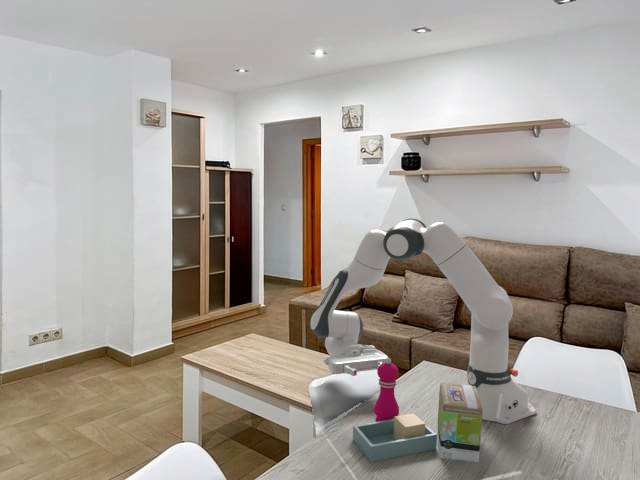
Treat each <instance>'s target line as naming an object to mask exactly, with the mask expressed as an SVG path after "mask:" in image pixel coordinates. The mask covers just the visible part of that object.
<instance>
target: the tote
mask: <svg viewBox="0 0 640 480" xmlns="http://www.w3.org/2000/svg"><path fill="white" fill-rule="evenodd" d="M352 428H353V429H352V440H353V442H354V443H355V444H356V446H357V447H358V448H359V449H360V451H361V452H362V453H363V454H364V456H365V457H366V458H367V459H368V460H369V462H370V463H372V462H377V461H382V460H387V459H392V458H397V457H398V458H399V457H402V456H408V455H412V454H417V453H418V454H419V453H422V452H428V451H432V450H437V445H438V444H437V443H438V433H436V432H435V431H433V430H432V429H431V428H430V427H429V426H428V425H426V424H425V435H422V436H417V437H411V438H406V439H401V440H395V439H394V438H393V436H394V419H391V420H385V421H379V422H375V421H374V422H369V423H368V422H367V423H364V424H363V423H362V424H357V425H356V424H355V425H352Z"/></svg>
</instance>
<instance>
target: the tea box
mask: <svg viewBox="0 0 640 480" xmlns="http://www.w3.org/2000/svg"><path fill="white" fill-rule="evenodd" d="M438 397H439V398H438V410H437V412H438V413H437V427H436V428H437V429H436V430H437V443H438V444H437V445H438V454H439V458H440V459H445V460H446V459H447V460H455V461H457V460H458V461H465V462H472V463H480V454H481V453H480V451H481V450H480V449H481V441H482V440H481V438H482V437H481V436H482V426H483V425H482V424H483V419H482V414H483V409H482V405H481V402H480V399H479V396H478V392H477V389H476V386H470V385H467V384H460V383H459V384H458V383H452V382H451V383H450V382H440V383H439V395H438Z"/></svg>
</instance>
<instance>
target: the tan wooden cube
mask: <svg viewBox="0 0 640 480" xmlns="http://www.w3.org/2000/svg"><path fill="white" fill-rule="evenodd" d="M425 425H426V422H424V421H423V420H422V419H421V418H420V417H418V416H417V415H416V414H415V413H407V414H403V415H398V416H395V417H394V436H393V438H394V439H395V440H401V439H406V438H411V437H417V436H422V435H425Z"/></svg>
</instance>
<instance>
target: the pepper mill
mask: <svg viewBox="0 0 640 480" xmlns="http://www.w3.org/2000/svg"><path fill="white" fill-rule="evenodd" d="M376 370H377V369H376ZM376 373H377V376H378V378H379V379H378V385H379V387H380V391H379V395H378V398H377V399H376V401H375V403H374V408H373V413H374V415H375V416H376V417H375V420H374V422H379V421H385V420H391V419H394V417H395V416H400V406H399V403H398V401H397V398H396V397H395V387H396V386H397V379H398V377H399V368H398V367H397V365H395V364H394V363H392V359H391V358H390V357H388V358H386V360H385V363H382V364H381V365H380V366H379V367H378V370H377V372H376Z"/></svg>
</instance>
